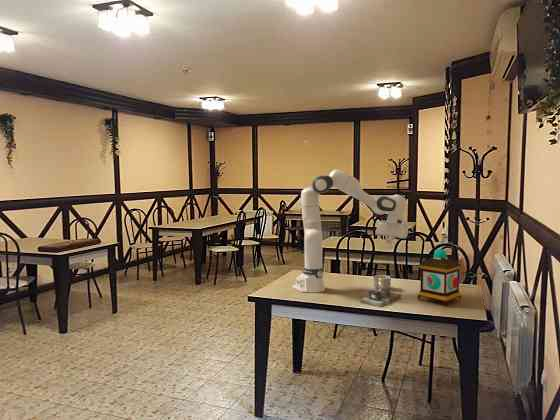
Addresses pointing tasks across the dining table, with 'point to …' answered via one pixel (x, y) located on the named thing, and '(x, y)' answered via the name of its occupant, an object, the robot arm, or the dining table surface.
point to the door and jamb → (380, 298)
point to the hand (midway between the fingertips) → (388, 243)
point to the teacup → (385, 285)
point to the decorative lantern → (440, 278)
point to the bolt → (379, 288)
